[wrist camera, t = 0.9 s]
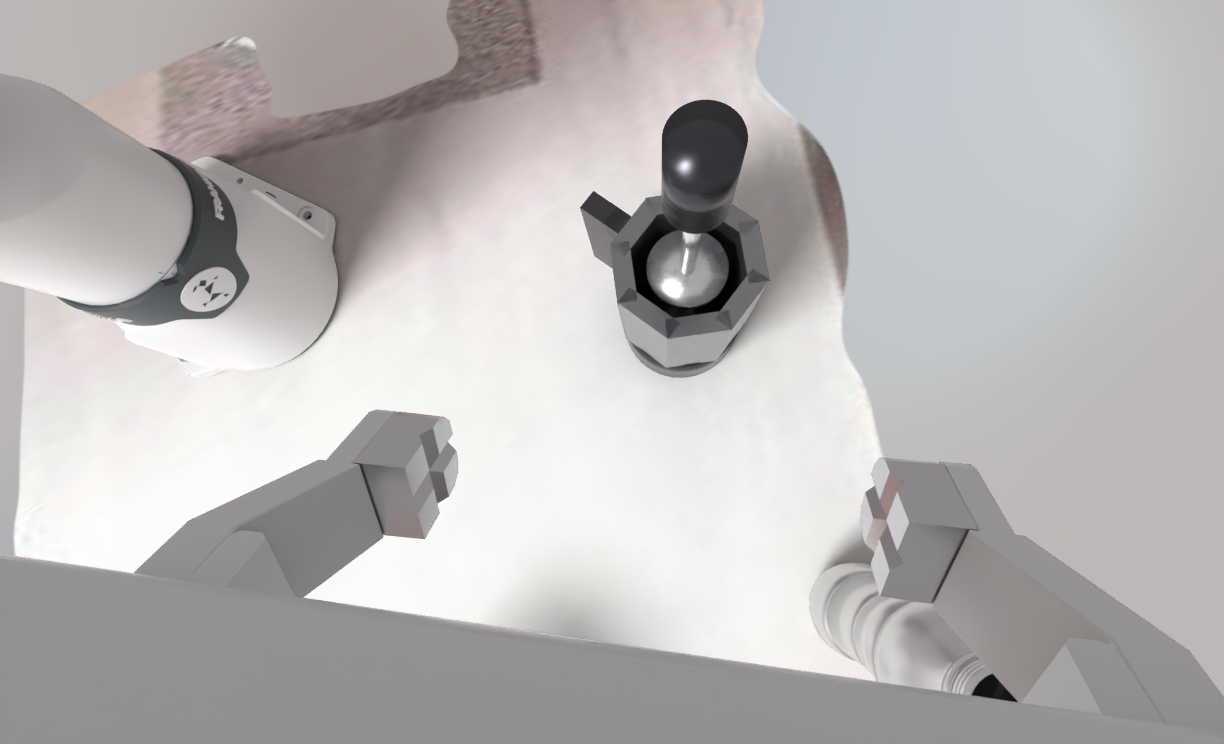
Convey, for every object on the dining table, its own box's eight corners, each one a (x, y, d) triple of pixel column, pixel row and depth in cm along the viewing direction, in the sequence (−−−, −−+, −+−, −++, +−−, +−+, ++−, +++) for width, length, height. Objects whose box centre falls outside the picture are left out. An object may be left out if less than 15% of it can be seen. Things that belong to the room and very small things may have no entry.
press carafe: (573, 312, 48) (538, 248, 34) (638, 231, 49) (629, 136, 35) (691, 399, 46) (705, 367, 32) (757, 312, 46) (797, 245, 33)
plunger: (630, 279, 35) (611, 153, 21) (678, 218, 35) (690, 56, 22) (695, 325, 34) (720, 224, 20) (743, 262, 34) (799, 122, 21)
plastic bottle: (787, 577, 43) (896, 665, 23) (869, 543, 43) (1048, 603, 23) (825, 661, 41) (974, 831, 22) (909, 627, 41) (1135, 767, 22)
